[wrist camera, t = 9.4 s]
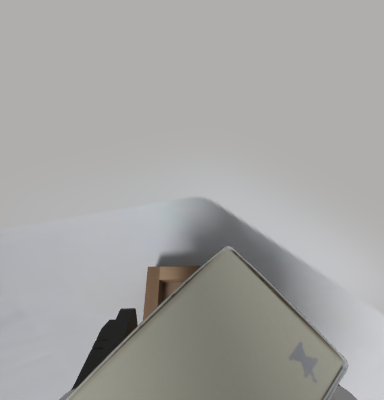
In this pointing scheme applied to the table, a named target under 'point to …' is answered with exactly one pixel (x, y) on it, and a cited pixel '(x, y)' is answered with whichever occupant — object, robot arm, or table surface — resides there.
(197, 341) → the skincare box
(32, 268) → the table surface
